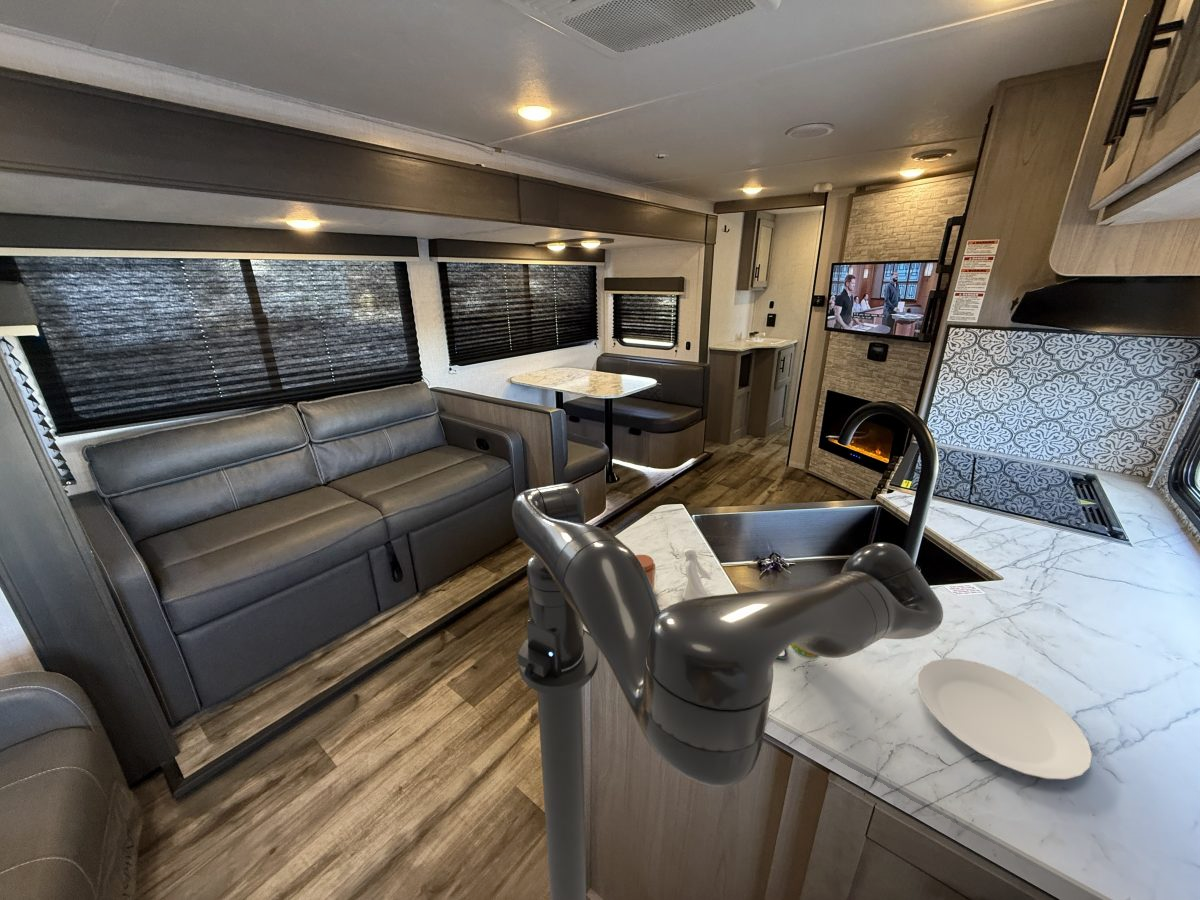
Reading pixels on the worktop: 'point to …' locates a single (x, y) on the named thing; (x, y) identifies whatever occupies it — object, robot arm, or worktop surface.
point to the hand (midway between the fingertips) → (807, 616)
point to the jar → (648, 568)
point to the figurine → (694, 577)
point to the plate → (1004, 719)
